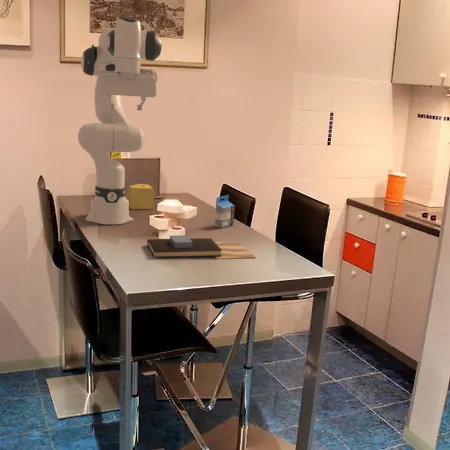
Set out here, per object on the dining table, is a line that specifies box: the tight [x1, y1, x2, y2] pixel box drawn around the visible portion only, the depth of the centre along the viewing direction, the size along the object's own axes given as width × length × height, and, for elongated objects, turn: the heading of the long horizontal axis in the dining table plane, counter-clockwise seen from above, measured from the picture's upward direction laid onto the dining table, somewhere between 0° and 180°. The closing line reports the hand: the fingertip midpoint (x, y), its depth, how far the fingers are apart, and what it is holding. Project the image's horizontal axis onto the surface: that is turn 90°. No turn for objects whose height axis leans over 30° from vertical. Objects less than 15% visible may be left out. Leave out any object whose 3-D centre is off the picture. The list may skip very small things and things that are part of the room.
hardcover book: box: [146, 237, 222, 259], centre depth 209 cm, size 16×23×2 cm
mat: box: [214, 241, 256, 260], centre depth 215 cm, size 20×14×1 cm
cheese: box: [126, 183, 155, 210], centre depth 274 cm, size 10×11×10 cm
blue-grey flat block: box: [169, 234, 193, 248], centre depth 209 cm, size 9×6×2 cm, turn 17°
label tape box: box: [214, 194, 236, 229], centre depth 250 cm, size 9×4×12 cm, turn 146°
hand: (125, 109), depth 206 cm, fingers open, 8 cm apart
